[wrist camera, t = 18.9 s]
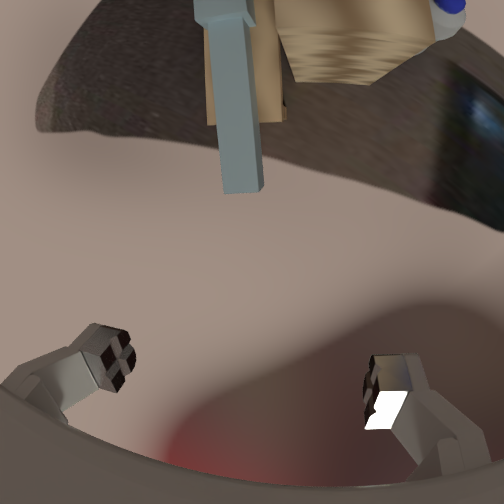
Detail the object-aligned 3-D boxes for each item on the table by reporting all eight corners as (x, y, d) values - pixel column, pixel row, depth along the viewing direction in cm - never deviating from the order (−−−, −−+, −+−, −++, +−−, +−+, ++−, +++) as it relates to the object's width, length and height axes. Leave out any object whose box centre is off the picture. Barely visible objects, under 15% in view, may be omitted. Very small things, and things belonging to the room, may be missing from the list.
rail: (252, -10, 23) (242, -29, 19) (271, 185, 32) (264, 195, 27) (208, -2, 24) (192, -18, 20) (226, 187, 33) (212, 197, 28)
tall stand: (362, 5, 31) (401, -89, 8) (369, 85, 37) (435, 41, 13) (290, 2, 33) (264, -99, 10) (295, 81, 39) (275, 27, 15)
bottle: (374, 28, 33) (410, -27, 15) (407, 17, 30) (456, -35, 12) (397, 64, 34) (450, 29, 16) (429, 52, 32) (493, 19, 14)
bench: (284, 5, 34) (272, -36, 21) (290, 123, 42) (281, 121, 29) (232, 9, 35) (203, -27, 22) (237, 124, 43) (207, 125, 30)
